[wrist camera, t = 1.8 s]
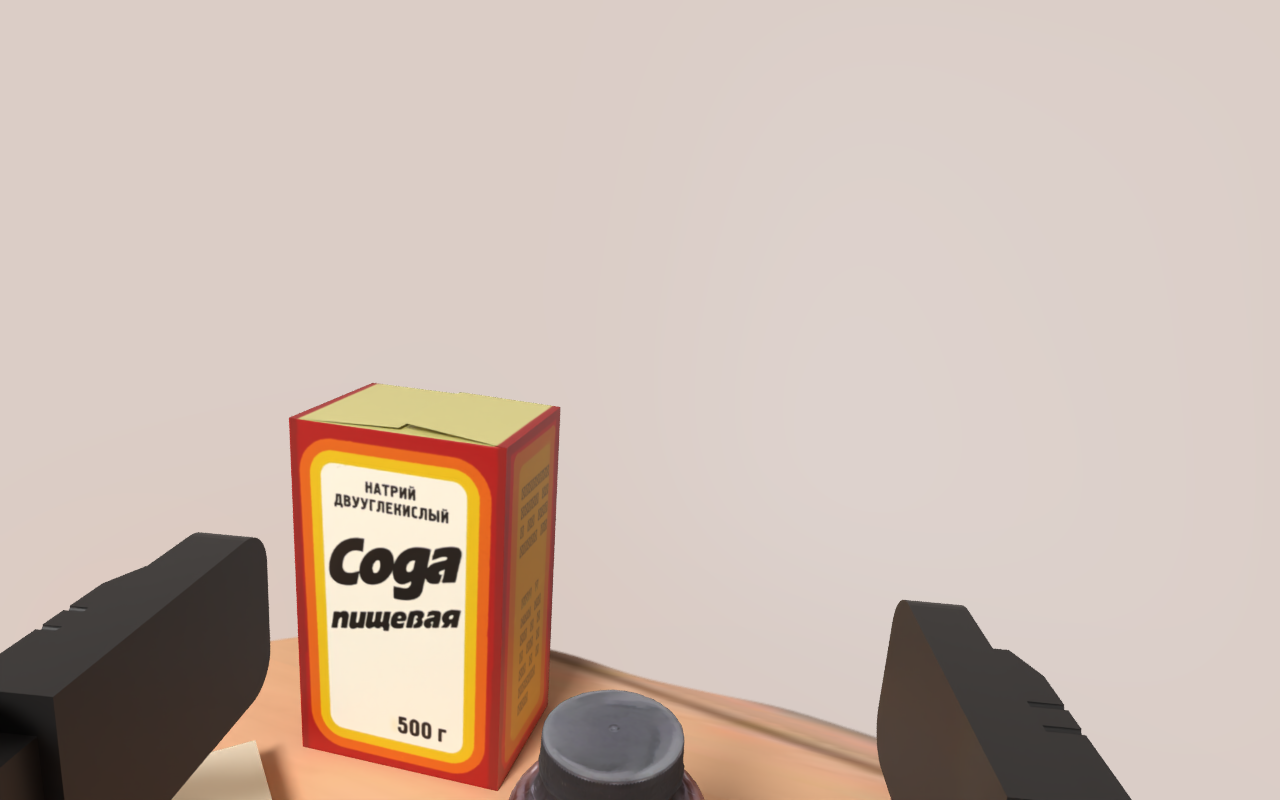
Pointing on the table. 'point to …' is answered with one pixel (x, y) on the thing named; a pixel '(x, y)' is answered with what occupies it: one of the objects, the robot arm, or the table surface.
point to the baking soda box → (424, 577)
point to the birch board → (228, 776)
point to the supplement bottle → (609, 752)
